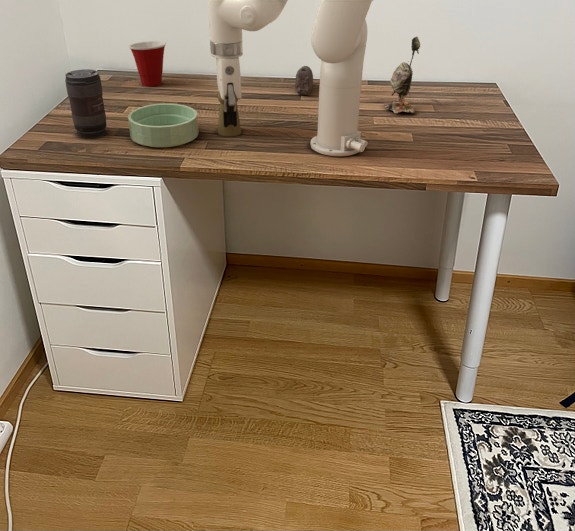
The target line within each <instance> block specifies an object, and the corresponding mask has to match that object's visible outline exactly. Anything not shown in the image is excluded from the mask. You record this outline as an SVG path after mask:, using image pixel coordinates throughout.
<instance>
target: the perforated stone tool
mask: <svg viewBox="0 0 575 531" xmlns="http://www.w3.org/2000/svg"><path fill="white" fill-rule="evenodd" d="M313 74H314V73H313V71H312V69H311V67H310V66H308V65H303V66H301V67H300V68H298V70H297V71H296V74H295V83H294V88H295V91H296V92H297V94H299V95H306V96H307V95H309V94H310V93H311V91H312V89H313V84H314V75H313Z"/></svg>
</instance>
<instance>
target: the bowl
mask: <svg viewBox="0 0 575 531" xmlns="http://www.w3.org/2000/svg"><path fill="white" fill-rule="evenodd" d="M127 122H128V131H129V137H130V139H131V141H132V142H134V143H136V144H139V145H140V146H141V145H142V146H145V147H150V148H171V147H177V146H182V145H185V144H188V143H190V142H192V141H194V140H195V139H196V138H198V136H199V134H200V132H199V131H200V129H199V117H198V111H197V110H196V109H195V108H193V107H190V106H189V105H184V104H179V103H154V104H148V105H143V106H141V107H138V108H135V109H133V110H131V111H130V112H129V113H128V114H127Z"/></svg>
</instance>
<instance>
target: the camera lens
mask: <svg viewBox="0 0 575 531" xmlns="http://www.w3.org/2000/svg"><path fill="white" fill-rule="evenodd" d="M101 79H102V78H101V76H100V75H99V71H98V70H96V69H91V68H90V69H76V70H70V71H68V72H66V73H65V81H64V82H65V88H66V93H67V97H68V99H69V106H70V112H71V118H72V123H73V127H74V129H75V131H76V133H77V136H78V137H79V138H82V139H91V140H92V139H97V138H100V137H104V135H105V134H106V128H107V115H106V110H105V103H104V97H103V86H102V80H101Z"/></svg>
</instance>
